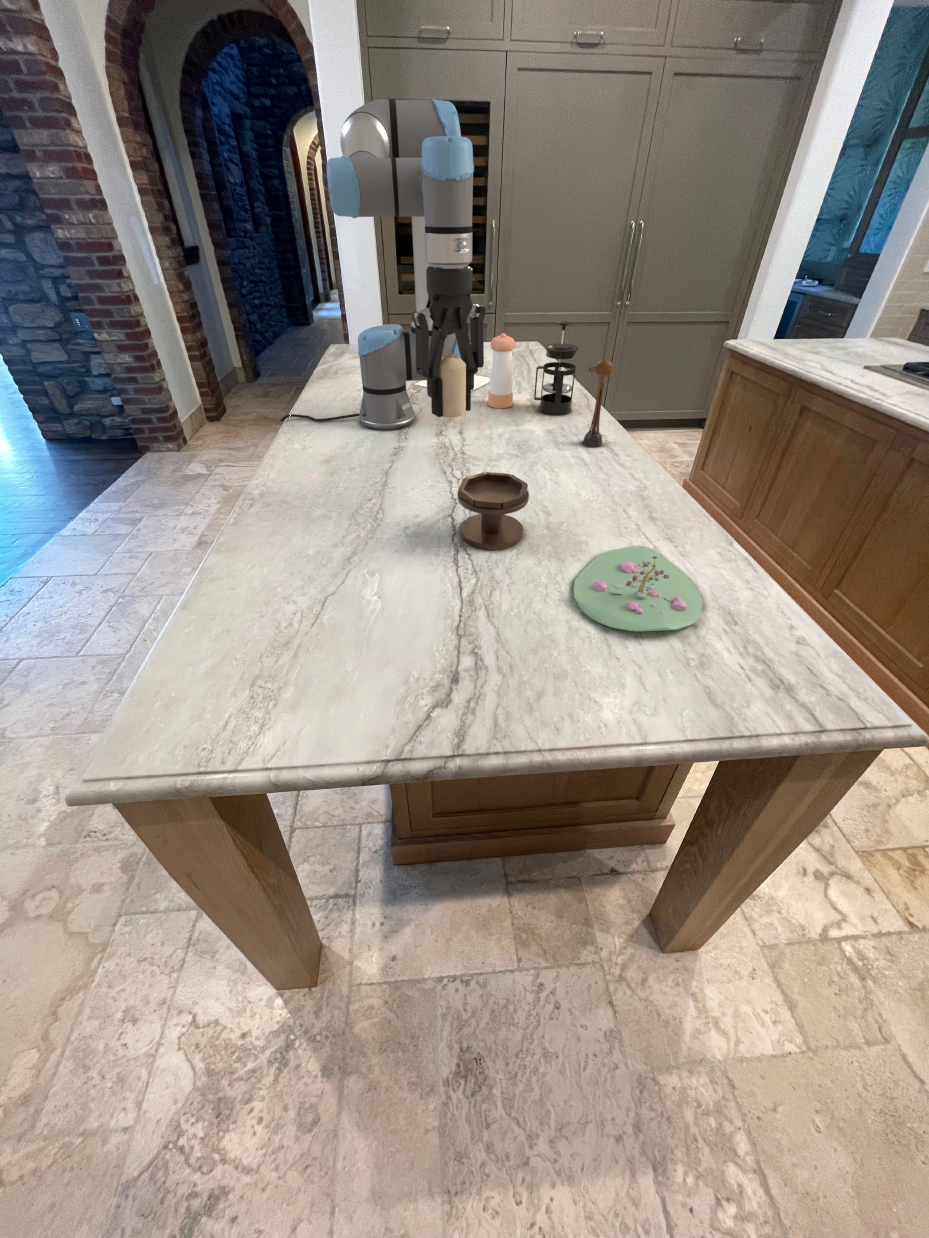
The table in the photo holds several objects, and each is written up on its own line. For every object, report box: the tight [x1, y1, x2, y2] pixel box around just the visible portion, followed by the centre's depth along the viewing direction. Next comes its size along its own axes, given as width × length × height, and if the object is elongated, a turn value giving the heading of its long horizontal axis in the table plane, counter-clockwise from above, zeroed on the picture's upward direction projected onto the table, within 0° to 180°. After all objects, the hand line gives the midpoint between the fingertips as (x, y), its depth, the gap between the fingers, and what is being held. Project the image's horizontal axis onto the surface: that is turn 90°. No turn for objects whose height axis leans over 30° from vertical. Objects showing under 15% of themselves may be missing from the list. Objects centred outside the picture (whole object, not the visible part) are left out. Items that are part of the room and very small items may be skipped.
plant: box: [572, 545, 704, 632], centre depth 86 cm, size 25×21×9 cm
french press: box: [533, 320, 579, 416], centre depth 149 cm, size 12×9×23 cm
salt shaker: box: [487, 332, 516, 409], centre depth 154 cm, size 7×7×19 cm
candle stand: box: [456, 471, 530, 551], centre depth 99 cm, size 13×13×10 cm
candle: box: [438, 354, 467, 418], centre depth 98 cm, size 6×6×10 cm
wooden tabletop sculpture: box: [582, 359, 613, 448], centre depth 131 cm, size 6×5×20 cm
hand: (451, 411), depth 101 cm, fingers closed on candle, 5 cm apart
